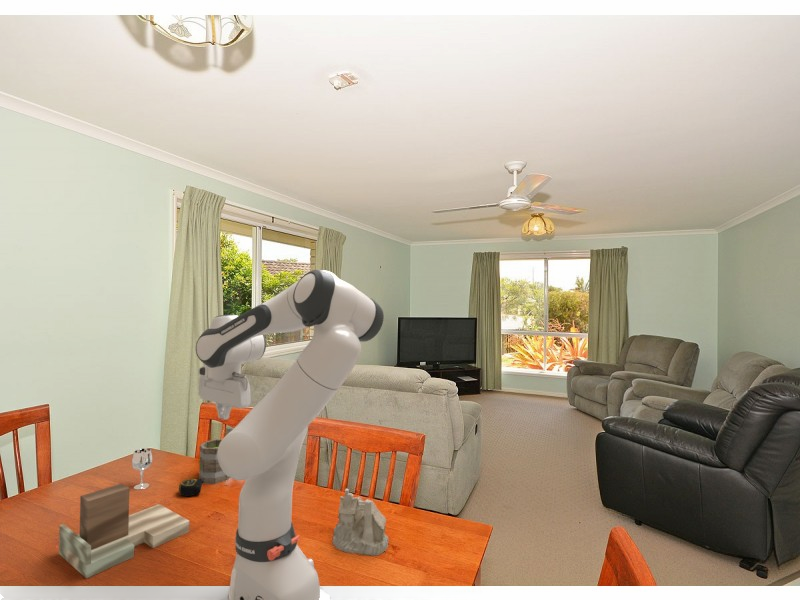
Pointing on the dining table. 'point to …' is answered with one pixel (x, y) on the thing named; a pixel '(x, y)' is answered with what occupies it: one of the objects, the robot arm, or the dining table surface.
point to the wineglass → (142, 464)
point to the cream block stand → (122, 540)
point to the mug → (210, 463)
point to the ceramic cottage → (360, 527)
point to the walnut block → (104, 515)
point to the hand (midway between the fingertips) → (223, 418)
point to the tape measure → (190, 487)
